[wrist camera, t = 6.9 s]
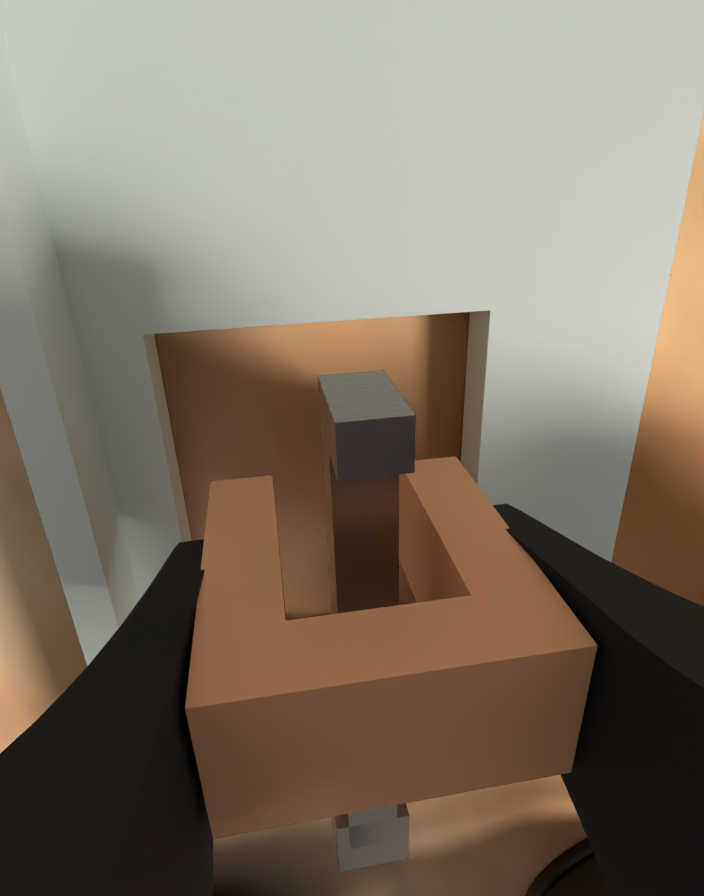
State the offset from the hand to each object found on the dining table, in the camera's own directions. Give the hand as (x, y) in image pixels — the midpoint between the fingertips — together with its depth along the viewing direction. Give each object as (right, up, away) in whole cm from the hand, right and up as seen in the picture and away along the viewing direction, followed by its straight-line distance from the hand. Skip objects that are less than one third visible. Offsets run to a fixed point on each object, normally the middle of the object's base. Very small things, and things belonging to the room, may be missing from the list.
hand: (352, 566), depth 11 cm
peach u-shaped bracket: (0, +1, +1) cm, 2 cm away
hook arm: (-1, +1, +4) cm, 4 cm away
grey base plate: (0, +3, +3) cm, 4 cm away
